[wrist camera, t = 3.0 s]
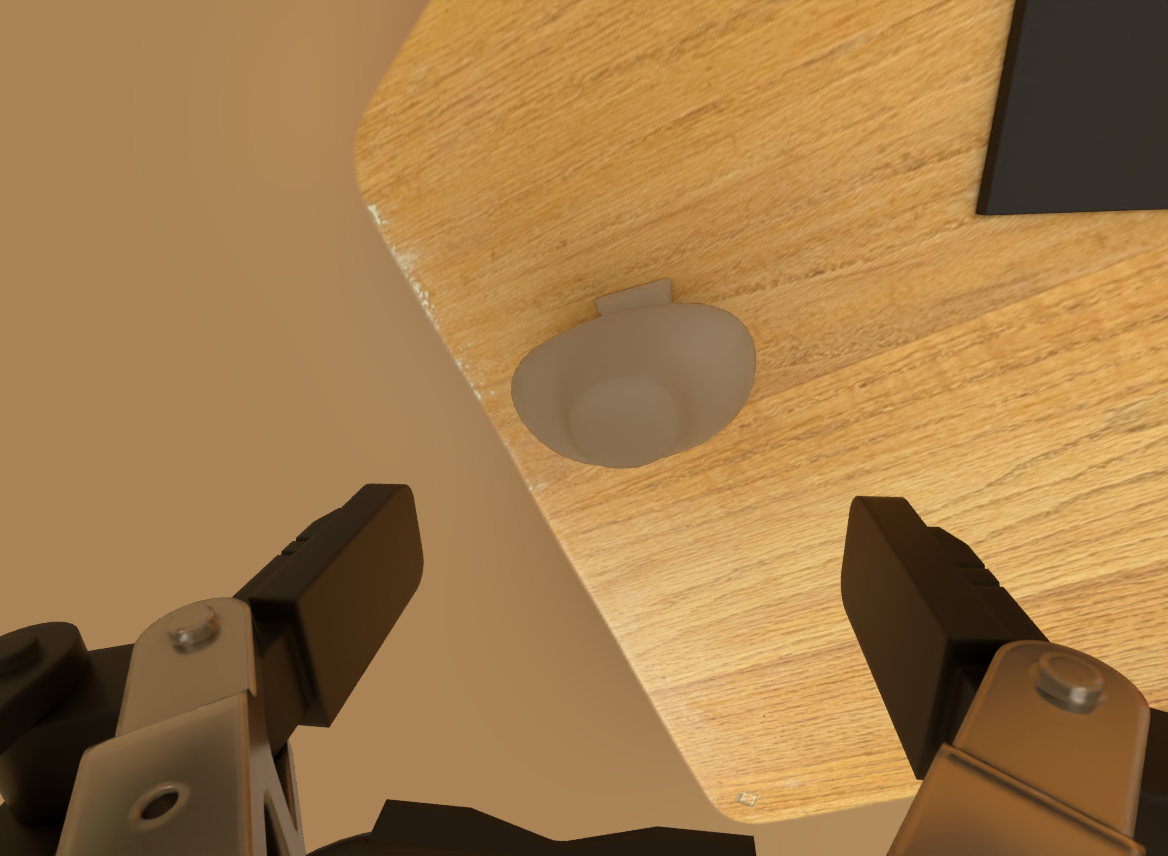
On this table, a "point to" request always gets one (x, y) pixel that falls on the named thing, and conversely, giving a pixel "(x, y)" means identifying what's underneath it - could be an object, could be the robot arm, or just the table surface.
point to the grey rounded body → (636, 379)
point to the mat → (1081, 110)
